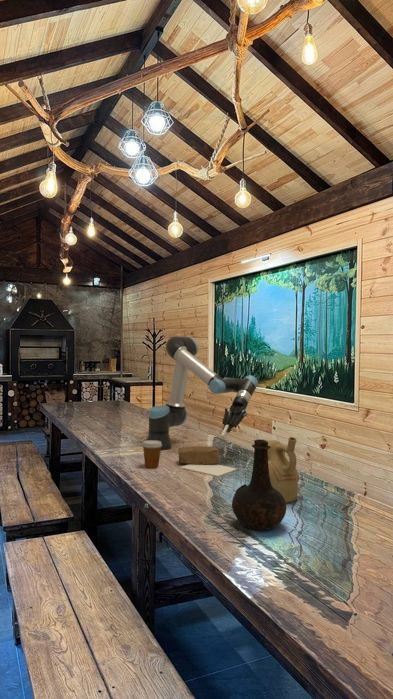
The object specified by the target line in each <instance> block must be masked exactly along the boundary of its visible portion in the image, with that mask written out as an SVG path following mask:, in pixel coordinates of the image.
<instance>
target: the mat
mask: <svg viewBox="0 0 393 699" xmlns="http://www.w3.org/2000/svg"><path fill="white" fill-rule="evenodd" d="M179 468H180V469H181V468H183V469H182V470H185V469H187V470H186V471H189V470H192V471H191V472H194V471H196V472H195V473H198V472H199V474H203V475H208V476H213V477H216V478H220V477H223V476H225V475H228V474H230V473H232V472H233V473H234V472H235V471H238V468H236V467H232V466H225V465H222V464H221V465H220V464H218V463H217V464H186V465H182V466H180V467H179Z"/></svg>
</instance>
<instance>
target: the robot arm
mask: <svg viewBox="0 0 393 699" xmlns="http://www.w3.org/2000/svg"><path fill="white" fill-rule="evenodd" d="M165 350H166V351H165V352H166V354H168V356H170V357H169V358H171V359H173V361H174V362H175V363H174V368H173V375H172V379H171V388H170V393H169V400H167V401H166V402H165V405H161V404H160V405H155V406H152V407H150V408H149V412H148V435H147V438H146V441H147V440H157V441H161V444H162V447H161V451H164V449H166V450H170V449H172V448H173V447H172V446H173V445H172V442H171V437H170V436H171V435H170V428H171V427H178V426H180V425H183V424H184V423H186V421H187V418H188V411H187V408H186V403H184V400H185V394H186V387H187V382H188V374H189V371H190V372H192V373H193V375H195V376H196V377H198V378H199V379H200V380H201V381H202V382H203V383H204V384H206V385H207V386H208V388H209V390H210V392H211V393H212V394H214V395H215V394H217V395H219V394H220V395H221V394H226V393H227V394H228V393H237V394H236V395H235V397H234V399H233V400H232V403H231V406H229V408H224V415H223V418H222V422H221V423H222V424H223V428H222V432H221V434H220V436H221V438H222V439H225V440H226V439H227V436H228V435H229V434H230V433H231V431H232V429H233V428H237V427H238V426H239V424H241V422H242V421H243V419H244V418H245V417H246V416H248V412H247V410H246V409H247V406H248V405H249V403H250V401H251V399H252V398H253V394H254V393H255V391H256V390H257V387H258V384H259V381H258V379H257V378H256V377H255V376H254V375H250V374H249V375H246V376H245V378H233V377H224V378H222V377H220V375H218V374H217V373H216V372H214V371H213V370H212V369H211V368H209V367H208V366H207V365H206V364H205V363H203V362H202V361H200V359H198V358H197V357H196V355H197V354H198V352H199V345H198V342H197V341H196V340H195V339H194V338H193V337H189V336H176V335H175V336H172V337H170V338H168V340H166V343H165ZM171 447H172V448H171ZM169 448H170V449H169Z"/></svg>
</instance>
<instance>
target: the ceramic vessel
mask: <svg viewBox="0 0 393 699" xmlns="http://www.w3.org/2000/svg"><path fill="white" fill-rule="evenodd" d="M287 442H288V443H287V445H286V444H283V443H281V442H280V441H278V440H276V439H275V440H274V439H273V440H272V439H271V440H269V441H268V446H270V447H271V448H270V449H268V467H269V476H270V481H271V485H272V487H273V488H274V489H276V490H277V491H279V492H280V493H281V494H282V496H283V497H284V499H285V502H286V504H287V503H293V502H295V501H296V500H297V498H298V494H299V485H298V484H299V483H298V482H299V481H300V474H299V472H298V469H297V468H296V467H297V455H296V453H295V448H296V444H297V438H295V437H294V436H293V437H292V436H291V437H290V436H289V437H288V439H287ZM286 454H287V456H288V458H289V459H288V458H287V456H286Z"/></svg>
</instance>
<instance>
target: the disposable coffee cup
mask: <svg viewBox="0 0 393 699" xmlns="http://www.w3.org/2000/svg"><path fill="white" fill-rule="evenodd" d="M161 447H162V444H161V441H157V440H147V439H146V440H143V442H142V448H143V449H142V450H143V457H144V467H145V468H146V469H151V468H152V469H158V468H159V464H160V458H161V451H162V450H161ZM157 467H158V468H157Z"/></svg>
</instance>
